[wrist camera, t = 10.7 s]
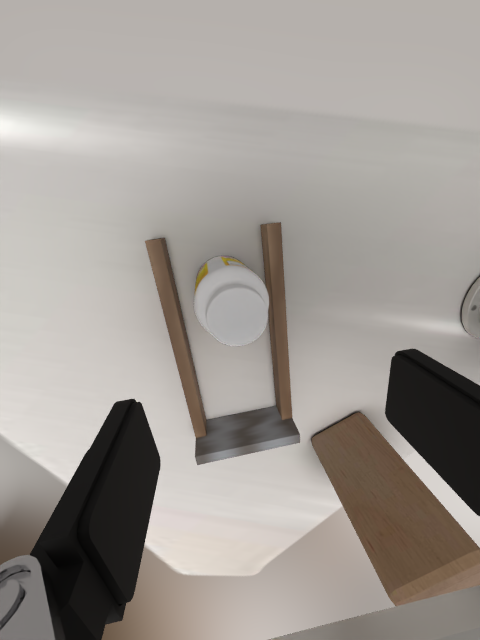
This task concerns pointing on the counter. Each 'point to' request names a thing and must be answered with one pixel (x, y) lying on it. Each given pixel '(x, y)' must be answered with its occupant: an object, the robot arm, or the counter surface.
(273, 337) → the shelf lane
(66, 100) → the counter surface
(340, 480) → the block
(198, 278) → the supplement bottle
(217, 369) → the counter surface
